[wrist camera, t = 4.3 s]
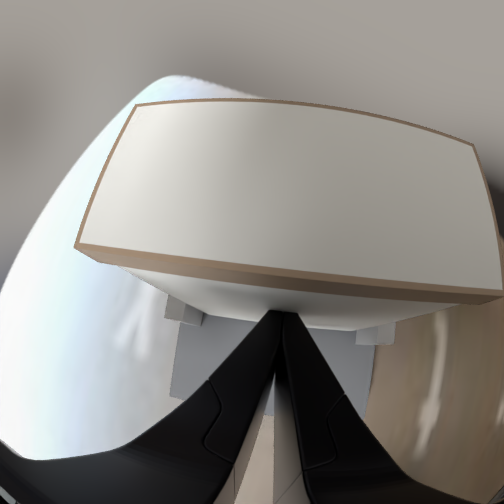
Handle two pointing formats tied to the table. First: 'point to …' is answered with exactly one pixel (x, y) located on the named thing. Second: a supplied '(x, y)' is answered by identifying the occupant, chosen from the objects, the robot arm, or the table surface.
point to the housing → (232, 333)
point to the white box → (295, 212)
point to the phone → (498, 496)
